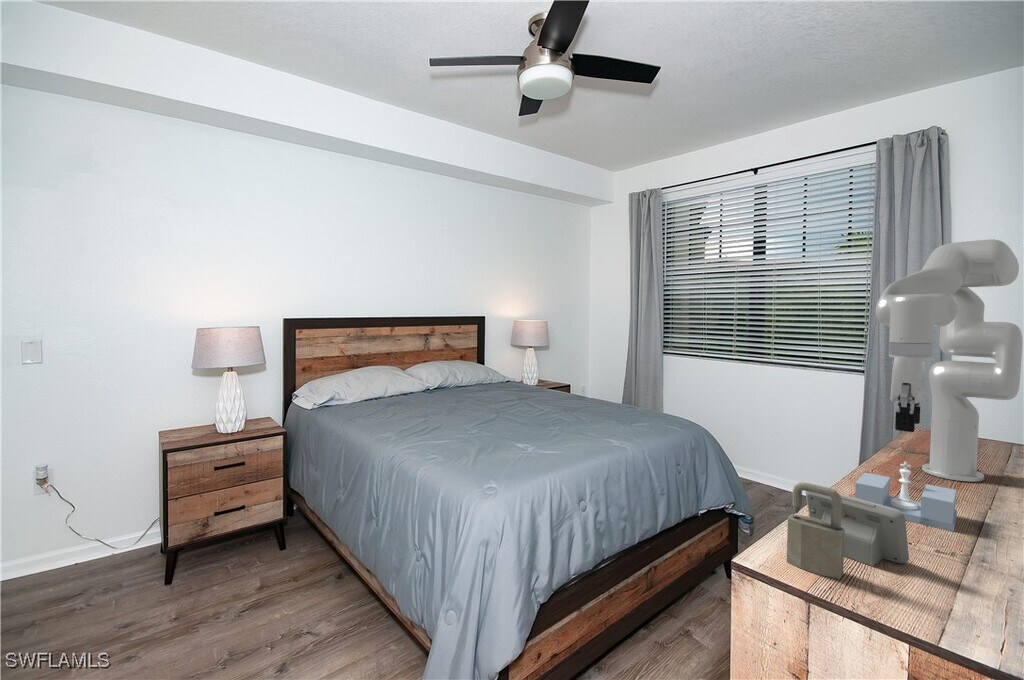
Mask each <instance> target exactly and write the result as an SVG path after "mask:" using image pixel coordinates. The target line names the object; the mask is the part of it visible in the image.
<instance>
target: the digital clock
mask: <svg viewBox="0 0 1024 680" xmlns="http://www.w3.org/2000/svg"><path fill="white" fill-rule="evenodd" d="M838 494H839V495H840V496H841V500H842V509H841V527H844V528H845V534H844V558H848V559H850V560H853V561H857V562H858V563H861V564H864V565H867V566H870V567H874V566H875V565H877V564H878V563H879V562H880V561H882V560H883V559H885V560H887V561H891V562H893V563H897V564H906V563H908V562H909V560H910V553H909V545H908V543H909V542H908V534H907V526H906V523H907V522H906V520H905V517H904V515H903V513H902V512H900V511H899V510H897V509H893V508H890V507H886V506H883V505H879V504H876V503H872V502H868V501H864V500H861V499H857V498H855V497H853V496H850V495H849V496H848V495H845V494H841V493H838ZM805 498H806V505H807V511H808V517H812V518H816V519H820V520H823V521H827V522H830V523H831V509H832V498H831V497H830V496H826V495H821V494H817V493H813V492H808V491H805Z"/></svg>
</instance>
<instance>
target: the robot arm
mask: <svg viewBox="0 0 1024 680" xmlns="http://www.w3.org/2000/svg"><path fill="white" fill-rule="evenodd" d="M1019 271H1020V263H1019V260H1018V258H1017V256H1016V255H1015V253H1014V252H1013V250H1012V249H1011V247H1010V246H1009V245H1008V244H1007V243H1005V242H1004V241H1002V240H999V239H996V238H994V239H992V238H991V239H979V240H970V241H968V240H967V241H959V242H958V241H957V242H950V243H949V242H948V243H945V244H942V245H940V246H938V247H936V248H935V249H933V251H932V252H931V254H930V255H929V257H928V258H927V260H926V261H925V263H924V265H923V266H922V268H921V270H919V271H916V272H913V273H911V274H907V275H906V276H903V277H901V278H899V279H896V280H895V281H893V282H892V283H890V284H889V285H888V286H887V287H885V289H884V291H883V292H882V294H881V295H880V297H879V299H878V301H877V303H876V307H875V317H876V319H877V321H878V322H879V323H880V324H881V325H883V326H887V327H889V335H888V337H889V338H888V339H889V340H888V357H889V358H893V364H892V369H891V370H892V371H891V381H890V382H891V383H890V384H891V386H890V397H889V400H890V401H891V402H895V401H897V404H896V411H895V421H894V422H895V424H894V425H895V426H894V430H896V431H902V432H909V433H913V432H915V424H916V425H918V424H920V422H921V406H920V402H921V400H922V399H923V397H924V396H923V394H924V390H925V388H924V387H925V379H926V378H925V377H926V360H928V359H933V358H934V336H935V328H938V327H939V349H940V351H941V352H942V353H944V354H946V355H948V356H949V355H950V356H954V357H955V356H956V357H958V356H959V357H969V358H971V357H972V358H973V357H974V358H990V359H994V360H995V362H983V361H982V362H981V361H971V360H970V361H969V360H942V361H938V362H935V363H933V365H931V366H930V368H929V371H928V379H929V386H930V392H931V423H930V426H931V427H930V442H929V443H930V444H929V445H930V449H929V463H924V464H922V465H921V470H922V471H924V472H925V473H927V474H928V475H932V476H935V477H938V478H943V479H947V480H951V481H953V480H954V481H958V482H968V483H969V482H970V483H971V482H972V483H973V482H977V483H978V482H982V481H984V480H985V475H984V474H983V473H982V472H980V471H977V463H978V446H979V445H978V443H979V425H980V424H979V423H980V414H979V412H978V409H977V408H976V406H975V405H974V404H973V403H972V402H971V401H970V400H969V399H968V398H978V399H985V400H986V399H988V400H996V401H1009V400H1013V399H1014V398H1016V397H1017V395H1018V393H1019V391H1020V383H1021V374H1022V373H1021V372H1022V370H1021V369H1022V358H1023V335H1022V334H1023V333H1022V330H1021V329H1020V327H1019V326H1018V325H1017V324H1015V323H1012V322H1006V321H985V319H984V316H985V302H984V301H983V299H982V298H981V297H980V296H979V295H978V294H976V292H974V291H973V290H972V289H971V288H984V287H988V288H989V287H1004V286H1005V287H1006V286H1008V285H1010V284H1012V283H1014V282H1015V281H1016V280H1017V278H1018V276H1019Z"/></svg>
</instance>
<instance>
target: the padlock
mask: <svg viewBox="0 0 1024 680" xmlns="http://www.w3.org/2000/svg"><path fill="white" fill-rule="evenodd" d="M803 491H805V492H806V491H808V492H813V493H817V494H821V495H826V496H830V497H831V498H832V509H831V523H830V522H827V521H823V520H820V519H816V518H812V517H809V515H808V516H807V515H803V514H802V515H800V514H799V512H800V510H801V508H802V505H803V499H802V498H803ZM839 494H840V493H839V492H838V491H836V490H835V489H833V488H831V487H827V486H824V485H817V484H813V483H809V482H801V481H800V482H798V483H795V484H794V486H793V488H792V507H793V510H794V513H790V515H789V516H788V517H787V530H786V531H787V533H786V536H787V540H786V562H787V563H789V564H791V565H793V566H796V567H797V568H799V569H802V570H805V571H808V572H810V573H814V574H816V575H819V576H822V577H828V578H832V579H838V580H841V579H842V576H843V575H844V560H845V559H844V558H845V556H844V534H845V528H844V527H841V509H842V500H841V496H840V495H839Z"/></svg>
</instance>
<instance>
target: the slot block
mask: <svg viewBox="0 0 1024 680" xmlns="http://www.w3.org/2000/svg"><path fill="white" fill-rule="evenodd" d="M890 486H891V477H889V476H885V475H880V474H876V473H869V472H863V473H862V475H861V476H860V477H859V478H858V480H856V482H855V492H854V493H855V497H854V498H857V499H861V500H864V501H868V502H872V503H876V504H879V505H883V506H886V507H890V508H893V509H897V510H899V511H900V512H902V513H903V515H904V517H905V521H907V522H911V523H917V524H920V525H923V526H928V527H933V528H937V529H942V530H944V531H950V532H953V533H954V531H955V526H956V522H957V516H958V514H957V513H958V511H957V509H956V503H957V502H956V501H957V489H953V488H947V487H943V486H937V485H934V484H933V485H932V484H928V483H926V484H925V486H924V489H923V491H922V494H921V497H920V499H921V500H920V502H919V501H916V500H912V501H913V502H915V503H917V504H918V509H916V510H908V509H903V508H899V507H896V506H893V505H892V504H891V503H890V502H891V499H893V498H898V496H897V497H896V496H891V495H890V491H891V490H890V489H891V487H890Z"/></svg>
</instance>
